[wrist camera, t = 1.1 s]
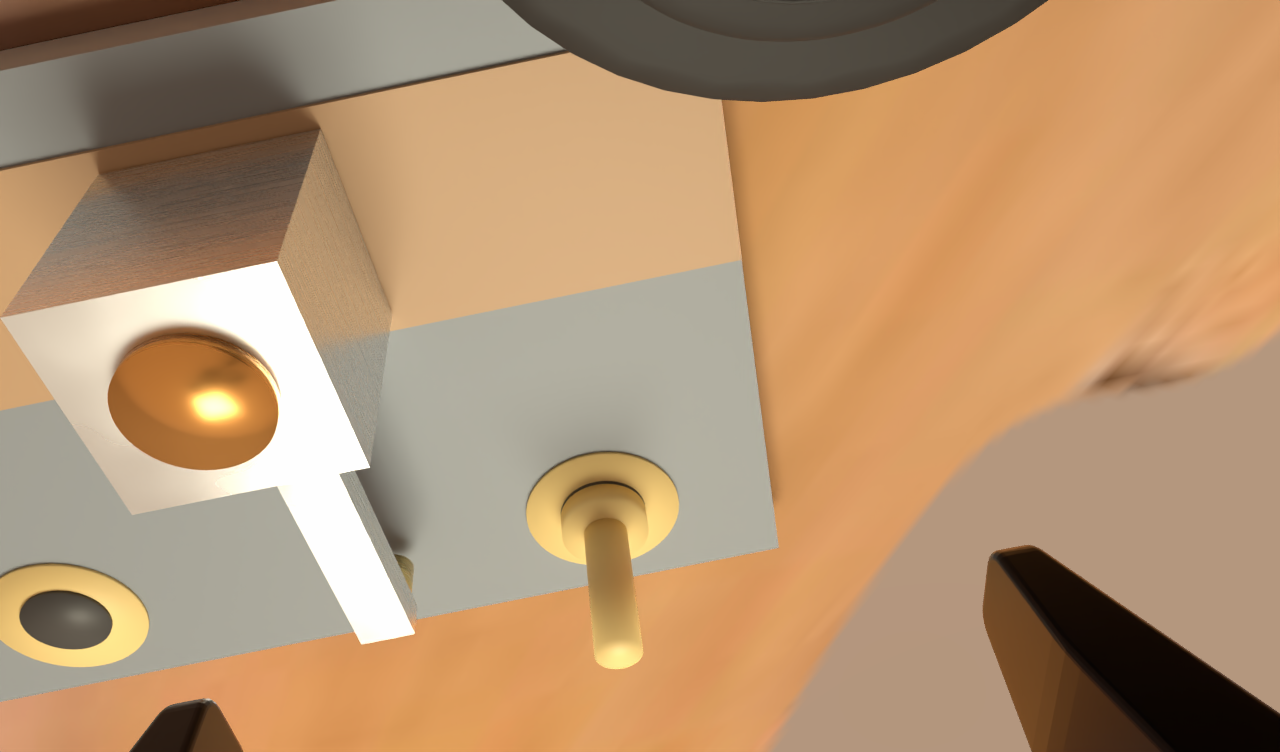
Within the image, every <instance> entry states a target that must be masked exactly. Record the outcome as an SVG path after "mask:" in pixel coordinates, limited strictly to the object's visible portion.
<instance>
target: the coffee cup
mask: <svg viewBox="0 0 1280 752" xmlns="http://www.w3.org/2000/svg"><path fill="white" fill-rule="evenodd" d="M502 1H503V2H504V3H505V4H506V5H508V6H509V7H510V8H511V9H512V10H513V11H514V12H515V13H516V14H518V15H519V16H520V17H521V18H522V19H523V20H524V21H525V22H526V23H528V24H529V25H530V26H531V27H533V28H534V29H536V30H537V31H539V32H540V33H542V34H543V35H545V36H546V37H548V38H549V39H551V40H552V41H554V42H555V43H557V44H558V45H560V46H561V47H563V48H564V49H566V50H567V51H569V52H570V53H572V54H574V55H576V56H578V57H580V58H582V59H584V60H586V61H588V62H590V63H592V64H595V65H597V66H599V67H601V68H603V69H605V70H607V71H609V72H611V73H613V74H616V75H618V76H621V77H624V78H627V79H630V80H633V81H636V82H639V83H643V84H646V85H649V86H652V87H655V88H658V89H661V90H664V91H670V92H675V93H681V94H687V95H692V96H698V97H703V98H709V99H718V100H737V101H756V102H767V101H782V100H796V99H811V98H817V97H823V96H828V95H833V94H839V93H844V92H849V91H855V90H860V89H865V88H868V87H871V86H875V85H878V84H881V83H884V82H888V81H891V80H894V79H897V78H901V77H904V76H907V75H911V74H914V73H916V72H919V71H921V70H923V69H926V68H928V67H930V66H933V65H935V64H937V63H940V62H942V61H944V60H947V59H949V58H951V57H954V56H956V55H958V54H961V53H963V52H965V51H967V50H969V49H971V48H972V47H974V46H976V45H978V44H980V43H981V42H983V41H985V40H987V39H989V38H990V37H992V36H994V35H996V34H997V33H999V32H1001V31H1003V30H1005V29H1006V28H1008V27H1010V26H1012V25H1013V24H1015V23H1017V22H1018V21H1020V20H1021V19H1022V18H1024V17H1025V16H1027V15H1028V14H1029V13H1031V12H1032V11H1034V10H1035V9H1037V8H1038V7H1039V6H1041V5H1042V4H1044V3H1045V2H1046V1H1048V0H502Z"/></svg>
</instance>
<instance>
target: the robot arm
mask: <svg viewBox="0 0 1280 752" xmlns="http://www.w3.org/2000/svg"><path fill="white" fill-rule="evenodd" d="M983 618H984V624H985V628H986V631H987V634H988V637H989V639H990V642H991V645H992V647H993V650H994V653H995V655H996V658H997V661H998V663H999V666H1000V669H1001V671H1002V674H1003V677H1004V679H1005V682H1006V685H1007V687H1008V690H1009V693H1010V695H1011V698H1012V700H1013V703H1014V706H1015V709H1016V711H1017V714H1018V716H1019V719H1020V722H1021V724H1022V727H1023V730H1024V732H1025V735H1026V738H1027V740H1028V743H1029V745H1030V748H1031V751H1032V752H1280V713H1278V712H1277V711H1275V710H1274V709H1272V708H1271V707H1270V706H1268V705H1267V704H1265V703H1264V702H1262V701H1261V700H1259V699H1258V698H1257V697H1255V696H1254V695H1252V694H1251V693H1249V692H1248V691H1246V690H1245V689H1243V688H1242V687H1241V686H1239V685H1238V684H1236V683H1235V682H1233V681H1232V680H1230V679H1229V678H1227V677H1226V676H1225V675H1223V674H1222V673H1220V672H1219V671H1217V670H1216V669H1214V668H1213V667H1211V666H1210V665H1208V664H1207V663H1206V662H1204V661H1202V660H1201V659H1200V658H1198V657H1197V656H1195V655H1194V654H1193V653H1191V652H1190V651H1188V650H1187V649H1185V648H1184V647H1182V646H1181V645H1179V644H1178V643H1177V642H1175V641H1173V640H1172V639H1171V638H1169V637H1168V636H1166V635H1165V634H1163V633H1162V632H1161V631H1159V630H1158V629H1156V628H1155V627H1153V626H1152V625H1150V624H1149V623H1147V622H1146V621H1145V620H1143V619H1142V618H1140V617H1139V616H1137V615H1136V614H1134V613H1133V612H1131V611H1130V610H1128V609H1127V608H1126V607H1124V606H1123V605H1121V604H1120V603H1118V602H1117V601H1115V600H1114V599H1113V598H1111V597H1110V596H1108V595H1107V594H1105V593H1104V592H1102V591H1101V590H1099V589H1098V588H1097V587H1095V586H1094V585H1092V584H1091V583H1089V582H1088V581H1086V580H1085V579H1083V578H1082V577H1081V576H1079V575H1078V574H1076V573H1075V572H1073V571H1072V570H1070V569H1069V568H1067V567H1066V566H1065V565H1063V564H1062V563H1060V562H1059V561H1057V560H1056V559H1054V558H1053V557H1051V556H1050V555H1049V554H1047V553H1046V552H1044V551H1043V550H1041V549H1039V548H1037V547H1035V546H1031V545H1024V546H1018V547H1013V548H1008V549H1003V550H998V551H995V552H993V553H992V554H991V556H990V557H989V561H988V566H987V575H986V583H985V592H984V601H983ZM130 752H243V750H242V748H241V745H240V744H239V742H238V740H237V738H236V737H235V735H234V733H233V731H232V729H231V728H230V726H229V724H228V722H227V721H226V719H225V717H224V715H223V713H222V712H221V710H220V708H219V707H218V705H217V704H216V703H215V702H214V701H212V700H211V699H198V700H193V701H188V702H182V703H177V704H173V705H170V706H168V707H166V708H165V709H164V710H162V711H161V712H160V713H159V714H158V716H157V717H156V718H155V719H154V721H153V722H152V723H151V725H150V726H149V727H148V728H147V730H146V731H145V732H144V734H143V735H142V736H141V737H140V739H139V740H138V741H137V743H136V744H135V745H134V746H133V748H132V749H131V750H130Z"/></svg>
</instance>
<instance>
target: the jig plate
mask: <svg viewBox="0 0 1280 752" xmlns="http://www.w3.org/2000/svg"><path fill="white" fill-rule="evenodd" d="M316 129H321V131H322V133H323V136H324V139H325V141H326V144H327V146H328V149H329V152H330V154H331V157H332V159H333V162H334V165H335V167H336V170H337V172H338V175H339V178H340V180H341V183H342V185H343V188H344V191H345V193H346V196H347V198H348V201H349V204H350V206H351V209H352V211H353V214H354V217H355V219H356V222H357V224H358V227H359V230H360V232H361V235H362V237H363V240H364V242H365V245H366V248H367V250H368V253H369V255H370V258H371V261H372V263H373V266H374V268H375V271H376V274H377V276H378V279H379V281H380V284H381V287H382V289H383V292H384V294H385V297H386V300H387V302H388V305H389V307H390V310H391V313H392V320H391V327H390V334H389V341H388V347H387V354H386V361H385V368H384V374H383V381H382V388H381V395H380V401H379V408H378V415H377V422H376V428H375V435H374V442H373V449H372V455H371V462H370V467H369V468H364V469H359V470H355V472H356V474H357V476H358V478H359V481H360V483H361V485H362V487H363V489H364V491H365V493H366V496H367V498H368V500H369V502H370V504H371V506H372V509H373V511H374V513H375V515H376V517H377V519H378V521H379V524H380V526H381V528H382V530H383V532H384V534H385V537H386V539H387V541H388V543H389V545H390V547H391V549H392V552H393V554H397V555H402V556H405V557H407V558H408V559H410V560H411V561H412V563H413V565H414V574H413V586H412V595H413V597H414V599H415V601H416V603H417V605H418V606H417V618H416V619H421V618H427V617H432V616H437V615H442V614H447V613H452V612H457V611H462V610H467V609H472V608H477V607H482V606H487V605H492V604H497V603H502V602H507V601H512V600H517V599H523V598H528V597H533V596H538V595H543V594H548V593H553V592H558V591H563V590H568V589H573V588H578V587H583V586H588V588H589V600H590V611H591V622H592V634H593V645H594V656H595V660H596V661H597V663H598V664H600V665H601V666H603V667H605V668H609V669H623V668H627V667H630V666H632V665H634V664H635V663H637V662H638V661H639V660H640V659H641V657H642V655H643V646H642V638H641V631H640V623H639V616H638V608H637V601H636V593H635V586H634V578H633V577H634V576H639V575H644V574H649V573H654V572H659V571H664V570H669V569H674V568H679V567H684V566H689V565H694V564H699V563H704V562H709V561H715V560H720V559H725V558H730V557H735V556H740V555H745V554H750V553H755V552H760V551H765V550H770V549H775V548H779V547H778V539H777V531H776V523H775V516H774V508H773V500H772V492H771V485H770V477H769V469H768V461H767V454H766V446H765V438H764V430H763V422H762V415H761V407H760V399H759V391H758V384H757V376H756V368H755V360H754V353H753V345H752V337H751V329H750V322H749V314H748V306H747V298H746V291H745V283H744V275H743V267H742V255H741V247H740V240H739V232H738V224H737V216H736V208H735V201H734V193H733V185H732V177H731V170H730V162H729V154H728V146H727V138H726V131H725V123H724V115H723V107H722V100H718V99H709V98H703V97H698V96H692V95H687V94H681V93H675V92H670V91H664V90H661V89H658V88H655V87H652V86H649V85H646V84H643V83H639V82H636V81H633V80H630V79H627V78H624V77H621V76H618V75H616V74H613V73H611V72H609V71H607V70H605V69H603V68H601V67H599V66H597V65H595V64H592V63H590V62H588V61H586V60H584V59H582V58H580V57H578V56H576V55H574V54H572V53H570V52H569V51H567V50H566V49H564V48H563V47H561V46H560V45H558V44H557V43H555V42H554V41H552V40H551V39H549V38H548V37H546V36H545V35H543V34H542V33H540V32H539V31H537V30H536V29H534V28H533V27H531V26H530V25H529V24H528V23H526V22H525V21H524V20H523V19H522V18H521V17H520V16H519V15H518V14H516V13H515V12H514V11H513V10H512V9H511V8H510V7H509V6H508V5H506V4H505V3H504V2H503V1H502V0H240V1H235V2H230V3H226V4H221V5H216V6H211V7H207V8H202V9H197V10H192V11H188V12H183V13H178V14H173V15H169V16H164V17H159V18H154V19H150V20H145V21H140V22H135V23H130V24H126V25H121V26H116V27H111V28H107V29H102V30H97V31H92V32H88V33H83V34H78V35H73V36H69V37H64V38H59V39H54V40H50V41H45V42H40V43H35V44H30V45H26V46H21V47H16V48H11V49H7V50H2V51H0V317H1V316H2V314H3V313H4V311H5V310H6V309H7V307H8V306H9V304H10V303H11V301H12V300H13V298H14V297H15V295H16V294H17V292H18V291H19V290H20V288H21V287H22V285H23V284H24V282H25V281H26V279H27V278H28V276H29V275H30V273H31V272H32V270H33V269H34V268H35V266H36V265H37V263H38V262H39V260H40V259H41V257H42V256H43V254H44V253H45V251H46V250H47V248H48V247H49V246H50V244H51V243H52V241H53V240H54V238H55V237H56V235H57V234H58V232H59V231H60V229H61V228H62V227H63V225H64V224H65V222H66V221H67V219H68V218H69V216H70V215H71V213H72V212H73V210H74V209H75V207H76V206H77V205H78V203H79V202H80V200H81V199H82V197H83V196H84V194H85V193H86V191H87V190H88V188H89V187H90V185H91V184H92V183H93V181H94V180H95V178H96V177H97V175H99V174H104V173H109V172H114V171H119V170H123V169H128V168H133V167H138V166H143V165H147V164H152V163H157V162H162V161H167V160H172V159H176V158H181V157H186V156H191V155H196V154H201V153H205V152H210V151H215V150H220V149H225V148H229V147H234V146H239V145H244V144H249V143H254V142H258V141H263V140H268V139H273V138H278V137H283V136H287V135H292V134H297V133H302V132H307V131H311V130H316ZM351 632H355V631H354V629H353V628H352V626H351V624H350V622H349V620H348V618H347V616H346V615H345V613H344V611H343V609H342V607H341V605H340V603H339V601H338V600H337V598H336V596H335V594H334V592H333V590H332V588H331V586H330V585H329V583H328V581H327V579H326V577H325V575H324V573H323V571H322V570H321V568H320V566H319V564H318V562H317V560H316V558H315V556H314V555H313V553H312V551H311V549H310V547H309V545H308V543H307V541H306V540H305V538H304V536H303V534H302V532H301V530H300V528H299V526H298V525H297V523H296V521H295V519H294V517H293V515H292V513H291V512H290V510H289V508H288V506H287V504H286V502H285V500H284V498H283V497H282V495H281V493H280V491H279V489H278V487H277V486H274V487H269V488H264V489H259V490H254V491H249V492H244V493H239V494H235V495H230V496H225V497H220V498H215V499H210V500H205V501H200V502H195V503H190V504H185V505H180V506H175V507H170V508H165V509H160V510H155V511H150V512H145V513H140V514H135V515H132V514H131V513H130V511H129V510H128V508H127V507H126V505H125V504H124V502H123V501H122V499H121V498H120V496H119V495H118V493H117V492H116V490H115V489H114V487H113V486H112V484H111V483H110V481H109V480H108V478H107V477H106V475H105V474H104V472H103V471H102V470H101V468H100V467H99V465H98V464H97V462H96V461H95V459H94V458H93V456H92V455H91V453H90V452H89V450H88V449H87V447H86V446H85V444H84V443H83V441H82V440H81V438H80V437H79V435H78V434H77V432H76V431H75V429H74V428H73V426H72V425H71V423H70V422H69V420H68V419H67V417H66V416H65V414H64V413H63V411H62V410H61V408H60V407H59V405H58V404H57V402H56V401H55V399H54V398H53V396H52V395H51V393H50V392H49V390H48V389H47V387H46V386H45V384H44V383H43V381H42V380H41V378H40V377H39V375H38V374H37V372H36V371H35V369H34V368H33V366H32V365H31V363H30V362H29V360H28V359H27V357H26V356H25V354H24V353H23V351H22V350H21V348H20V347H19V345H18V344H17V342H16V341H15V339H14V338H13V336H12V335H11V333H10V332H9V330H8V329H7V327H6V326H5V324H4V323H3V321H2V320H1V318H0V702H2V701H7V700H12V699H17V698H22V697H27V696H32V695H38V694H43V693H48V692H53V691H58V690H63V689H68V688H73V687H78V686H83V685H88V684H93V683H98V682H103V681H108V680H113V679H118V678H123V677H128V676H133V675H139V674H144V673H149V672H154V671H159V670H164V669H169V668H174V667H179V666H184V665H189V664H194V663H199V662H204V661H209V660H214V659H219V658H224V657H229V656H235V655H240V654H245V653H250V652H255V651H260V650H265V649H270V648H275V647H280V646H285V645H290V644H295V643H300V642H305V641H310V640H315V639H320V638H325V637H331V636H336V635H341V634H346V633H351Z"/></svg>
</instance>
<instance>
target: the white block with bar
mask: <svg viewBox="0 0 1280 752" xmlns="http://www.w3.org/2000/svg"><path fill="white" fill-rule="evenodd" d="M0 318H1V320H2V321H3V323H4V324H5V326H6V327H7V329H8V330H9V332H10V333H11V335H12V336H13V338H14V339H15V341H16V342H17V344H18V345H19V347H20V348H21V350H22V351H23V353H24V354H25V356H26V357H27V359H28V360H29V362H30V363H31V365H32V366H33V368H34V369H35V371H36V372H37V374H38V375H39V377H40V378H41V380H42V381H43V383H44V384H45V386H46V387H47V389H48V390H49V392H50V393H51V395H52V396H53V398H54V399H55V401H56V402H57V404H58V405H59V407H60V408H61V410H62V411H63V413H64V414H65V416H66V417H67V419H68V420H69V422H70V423H71V425H72V426H73V428H74V429H75V431H76V432H77V434H78V435H79V437H80V438H81V440H82V441H83V443H84V444H85V446H86V447H87V449H88V450H89V452H90V453H91V455H92V456H93V458H94V459H95V461H96V462H97V464H98V465H99V467H100V468H101V470H102V471H103V472H104V474H105V475H106V477H107V478H108V480H109V481H110V483H111V484H112V486H113V487H114V489H115V490H116V492H117V493H118V495H119V496H120V498H121V499H122V501H123V502H124V504H125V505H126V507H127V508H128V510H129V511H130V513H131V514H132V515H135V514H140V513H145V512H150V511H155V510H160V509H165V508H170V507H175V506H180V505H185V504H190V503H195V502H200V501H205V500H210V499H215V498H220V497H225V496H230V495H235V494H239V493H244V492H249V491H254V490H259V489H264V488H269V487H274V486H277V487H278V489H279V491H280V493H281V495H282V497H283V498H284V500H285V502H286V504H287V506H288V508H289V510H290V512H291V513H292V515H293V517H294V519H295V521H296V523H297V525H298V526H299V528H300V530H301V532H302V534H303V536H304V538H305V540H306V541H307V543H308V545H309V547H310V549H311V551H312V553H313V555H314V556H315V558H316V560H317V562H318V564H319V566H320V568H321V570H322V571H323V573H324V575H325V577H326V579H327V581H328V583H329V585H330V586H331V588H332V590H333V592H334V594H335V596H336V598H337V600H338V601H339V603H340V605H341V607H342V609H343V611H344V613H345V615H346V616H347V618H348V620H349V622H350V624H351V626H352V628H353V629H354V631H355V633H356V635H357V637H358V639H359V641H360V643H361V644H367V643H372V642H377V641H382V640H387V639H392V638H397V637H402V636H407V635H412V634H415V630H416V618H417V606H418V605H417V603H416V601H415V599H414V597H413V595H412V586H413V574H414V565H413V563H412V561H411V560H410V559H408V558H407V557H405V556H402V555H397V554H393V552H392V549H391V547H390V545H389V543H388V541H387V539H386V537H385V534H384V532H383V530H382V528H381V526H380V524H379V521H378V519H377V517H376V515H375V513H374V511H373V509H372V506H371V504H370V502H369V500H368V498H367V496H366V493H365V491H364V489H363V487H362V485H361V483H360V481H359V478H358V476H357V474H356V472H355V470H359V469H364V468H369V467H370V462H371V455H372V449H373V442H374V435H375V428H376V422H377V415H378V408H379V401H380V395H381V388H382V381H383V374H384V368H385V361H386V354H387V347H388V341H389V334H390V327H391V320H392V313H391V310H390V307H389V305H388V302H387V300H386V297H385V294H384V292H383V289H382V287H381V284H380V281H379V279H378V276H377V274H376V271H375V268H374V266H373V263H372V261H371V258H370V255H369V253H368V250H367V248H366V245H365V242H364V240H363V237H362V235H361V232H360V230H359V227H358V224H357V222H356V219H355V217H354V214H353V211H352V209H351V206H350V204H349V201H348V198H347V196H346V193H345V191H344V188H343V185H342V183H341V180H340V178H339V175H338V172H337V170H336V167H335V165H334V162H333V159H332V157H331V154H330V152H329V149H328V146H327V144H326V141H325V139H324V136H323V133H322V131H321V129H316V130H311V131H307V132H302V133H297V134H292V135H287V136H283V137H278V138H273V139H268V140H263V141H258V142H254V143H249V144H244V145H239V146H234V147H229V148H225V149H220V150H215V151H210V152H205V153H201V154H196V155H191V156H186V157H181V158H176V159H172V160H167V161H162V162H157V163H152V164H147V165H143V166H138V167H133V168H128V169H123V170H119V171H114V172H109V173H104V174H99V175H97V177H96V178H95V180H94V181H93V183H92V184H91V185H90V187H89V188H88V190H87V191H86V193H85V194H84V196H83V197H82V199H81V200H80V202H79V203H78V205H77V206H76V207H75V209H74V210H73V212H72V213H71V215H70V216H69V218H68V219H67V221H66V222H65V224H64V225H63V227H62V228H61V229H60V231H59V232H58V234H57V235H56V237H55V238H54V240H53V241H52V243H51V244H50V246H49V247H48V248H47V250H46V251H45V253H44V254H43V256H42V257H41V259H40V260H39V262H38V263H37V265H36V266H35V268H34V269H33V270H32V272H31V273H30V275H29V276H28V278H27V279H26V281H25V282H24V284H23V285H22V287H21V288H20V290H19V291H18V292H17V294H16V295H15V297H14V298H13V300H12V301H11V303H10V304H9V306H8V307H7V309H6V310H5V311H4V313H3V314H2V316H1V317H0Z"/></svg>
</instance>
